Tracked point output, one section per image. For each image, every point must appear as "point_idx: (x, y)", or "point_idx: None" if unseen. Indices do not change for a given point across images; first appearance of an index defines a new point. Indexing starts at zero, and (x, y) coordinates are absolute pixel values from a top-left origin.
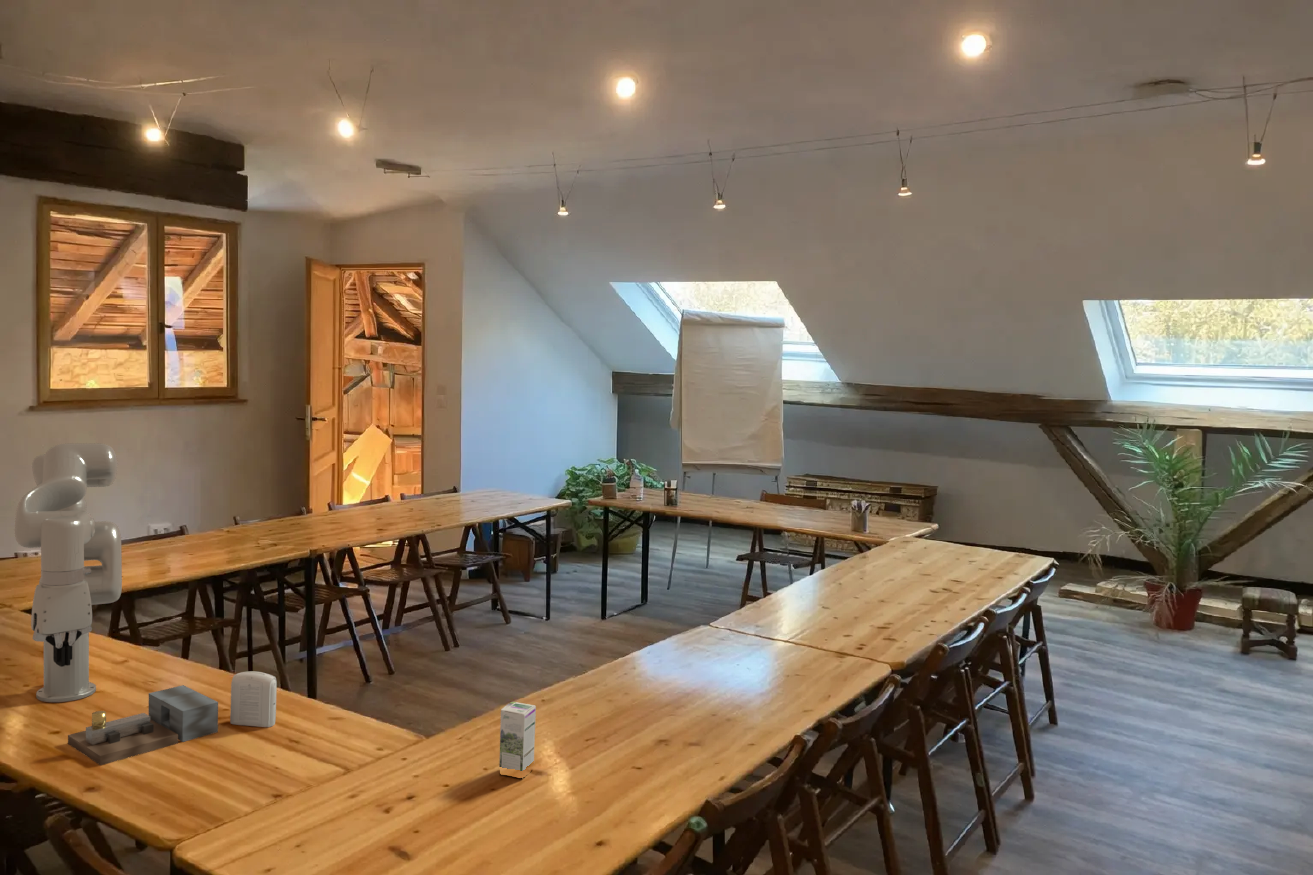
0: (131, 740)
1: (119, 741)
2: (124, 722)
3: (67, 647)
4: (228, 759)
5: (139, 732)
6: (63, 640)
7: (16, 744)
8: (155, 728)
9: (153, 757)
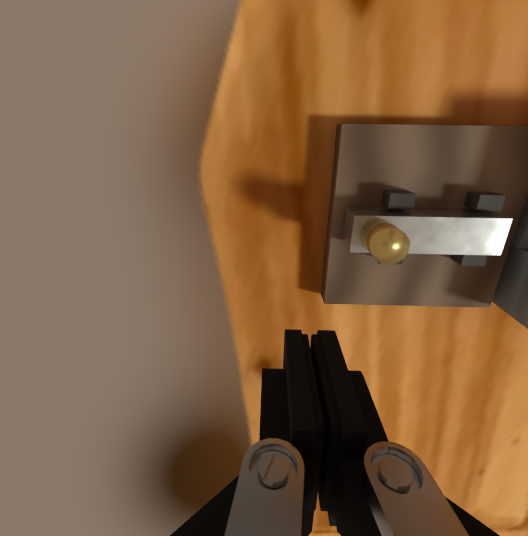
0: (411, 270)
1: None
2: (433, 251)
3: (329, 517)
4: (467, 410)
5: None
6: (367, 474)
7: (249, 17)
8: None
9: (402, 325)
